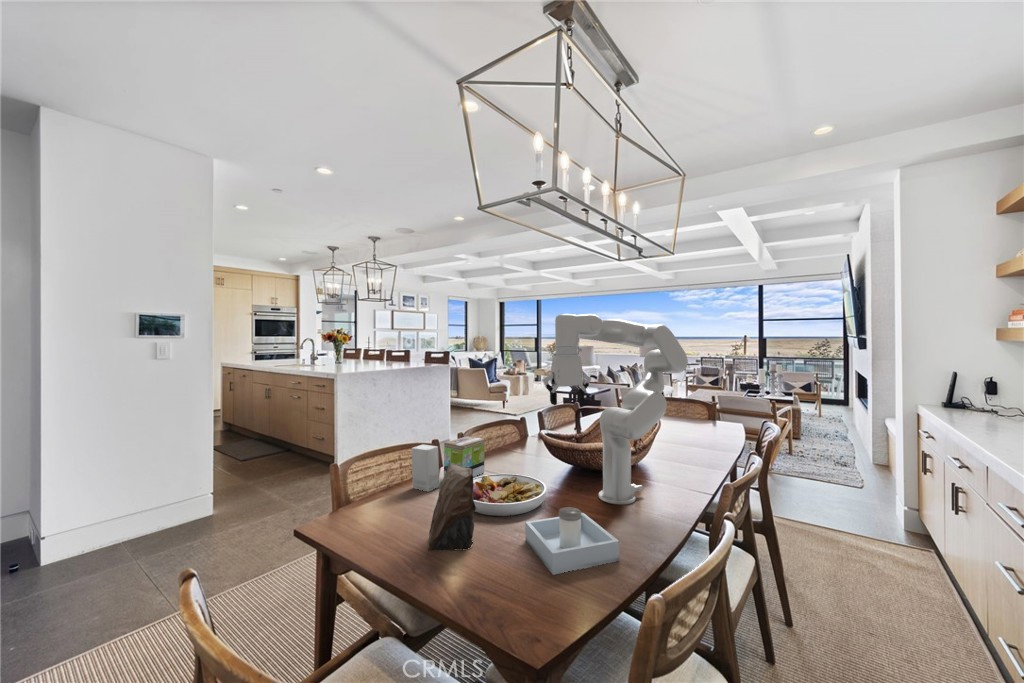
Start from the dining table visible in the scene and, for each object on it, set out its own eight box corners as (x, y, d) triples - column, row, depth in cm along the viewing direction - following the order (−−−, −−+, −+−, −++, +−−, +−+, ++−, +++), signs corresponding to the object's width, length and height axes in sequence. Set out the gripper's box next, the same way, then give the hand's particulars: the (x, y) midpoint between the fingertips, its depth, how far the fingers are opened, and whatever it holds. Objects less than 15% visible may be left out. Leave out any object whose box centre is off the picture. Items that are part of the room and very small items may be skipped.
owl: (444, 529, 120) (443, 460, 120) (485, 533, 117) (485, 463, 117) (425, 550, 107) (425, 474, 107) (471, 555, 105) (470, 477, 105)
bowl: (514, 481, 162) (514, 461, 162) (564, 506, 137) (564, 482, 137) (444, 497, 145) (444, 475, 145) (487, 528, 120) (486, 502, 120)
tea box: (462, 483, 159) (462, 445, 159) (443, 479, 164) (443, 442, 164) (485, 473, 172) (485, 437, 172) (466, 469, 177) (466, 435, 177)
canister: (574, 539, 111) (574, 506, 111) (585, 549, 105) (585, 514, 105) (555, 542, 109) (555, 508, 109) (565, 553, 103) (564, 517, 103)
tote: (583, 530, 118) (583, 512, 118) (619, 561, 101) (619, 541, 101) (525, 540, 113) (525, 521, 113) (552, 574, 96) (552, 553, 96)
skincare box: (439, 487, 155) (439, 446, 155) (427, 492, 149) (427, 450, 149) (423, 483, 159) (423, 443, 159) (411, 488, 153) (410, 447, 154)
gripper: (584, 351, 141) (584, 400, 141) (538, 351, 136) (538, 403, 135) (595, 351, 134) (596, 403, 134) (547, 352, 128) (547, 406, 128)
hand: (567, 403), depth 135 cm, fingers open, 9 cm apart
